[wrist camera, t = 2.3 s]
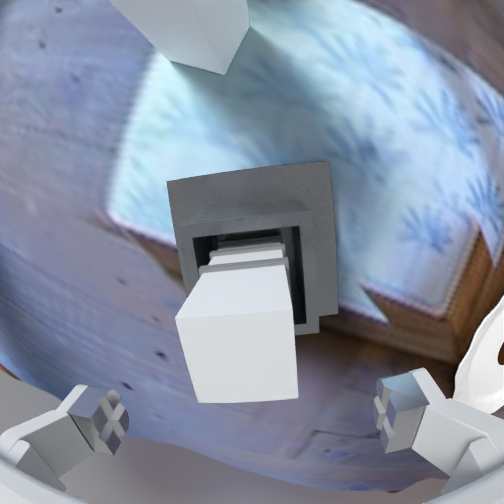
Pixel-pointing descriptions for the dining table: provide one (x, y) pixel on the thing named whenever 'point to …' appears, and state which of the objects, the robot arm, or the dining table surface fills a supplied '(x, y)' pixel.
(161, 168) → the dining table surface
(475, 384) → the plate
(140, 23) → the milk
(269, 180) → the stand
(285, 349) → the column
